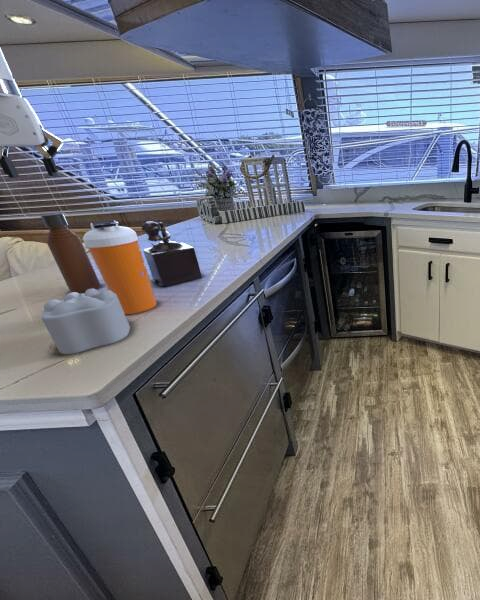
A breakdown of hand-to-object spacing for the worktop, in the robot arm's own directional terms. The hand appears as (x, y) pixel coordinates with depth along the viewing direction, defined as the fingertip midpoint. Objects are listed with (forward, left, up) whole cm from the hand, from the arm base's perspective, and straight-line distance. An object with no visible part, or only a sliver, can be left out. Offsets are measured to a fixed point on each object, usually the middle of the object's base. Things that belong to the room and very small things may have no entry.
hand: (34, 176), depth 78 cm
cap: (0, 0, -12) cm, 12 cm away
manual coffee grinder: (+23, -8, -30) cm, 39 cm away
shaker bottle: (+16, -26, -30) cm, 43 cm away
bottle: (0, 0, -30) cm, 30 cm away
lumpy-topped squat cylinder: (+11, -38, -30) cm, 50 cm away
